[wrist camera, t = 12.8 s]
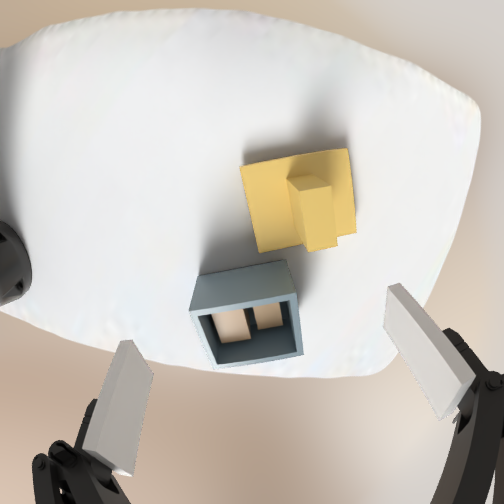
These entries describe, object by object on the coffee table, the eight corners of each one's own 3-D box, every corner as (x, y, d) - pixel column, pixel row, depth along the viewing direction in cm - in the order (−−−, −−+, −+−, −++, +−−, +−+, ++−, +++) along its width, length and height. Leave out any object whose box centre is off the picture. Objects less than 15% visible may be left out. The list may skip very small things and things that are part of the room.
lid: (257, 246, 35) (263, 283, 27) (239, 165, 31) (239, 177, 23) (350, 226, 35) (380, 256, 26) (341, 147, 30) (375, 154, 22)
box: (216, 330, 41) (213, 369, 33) (197, 276, 37) (188, 311, 29) (293, 317, 40) (303, 354, 33) (285, 259, 36) (296, 292, 29)
